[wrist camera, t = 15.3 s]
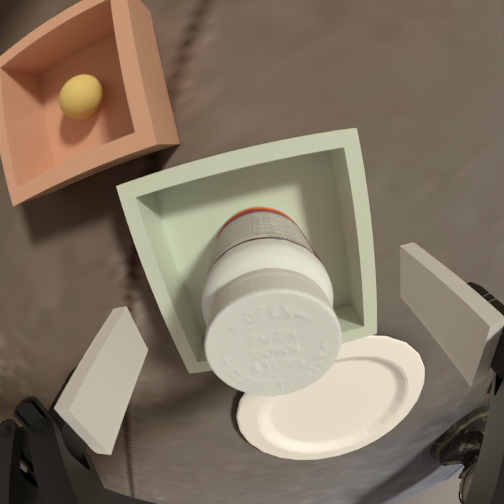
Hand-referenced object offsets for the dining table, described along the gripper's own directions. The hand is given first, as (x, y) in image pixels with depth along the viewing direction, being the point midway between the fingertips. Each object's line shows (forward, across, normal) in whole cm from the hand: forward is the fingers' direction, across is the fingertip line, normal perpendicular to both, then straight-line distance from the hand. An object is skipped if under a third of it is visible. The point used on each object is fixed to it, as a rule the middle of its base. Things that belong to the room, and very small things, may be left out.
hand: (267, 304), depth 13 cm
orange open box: (+9, -9, +13) cm, 19 cm away
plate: (+9, +4, -20) cm, 22 cm away
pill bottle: (+8, 0, 0) cm, 9 cm away
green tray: (+9, 0, -1) cm, 9 cm away
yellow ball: (+9, -9, +13) cm, 18 cm away
